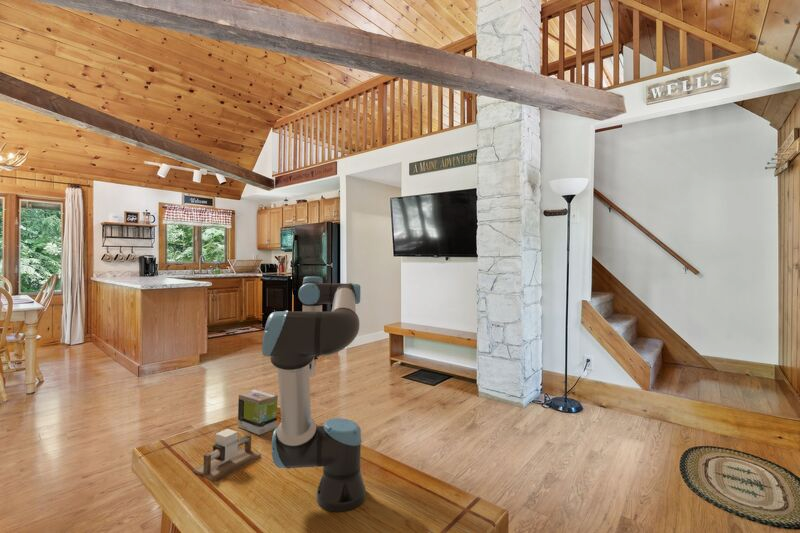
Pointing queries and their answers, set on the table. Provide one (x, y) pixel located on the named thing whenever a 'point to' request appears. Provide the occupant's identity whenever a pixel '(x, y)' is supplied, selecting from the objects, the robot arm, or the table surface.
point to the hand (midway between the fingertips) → (310, 376)
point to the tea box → (257, 411)
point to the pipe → (240, 442)
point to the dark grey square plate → (221, 452)
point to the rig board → (227, 463)
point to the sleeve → (228, 442)
